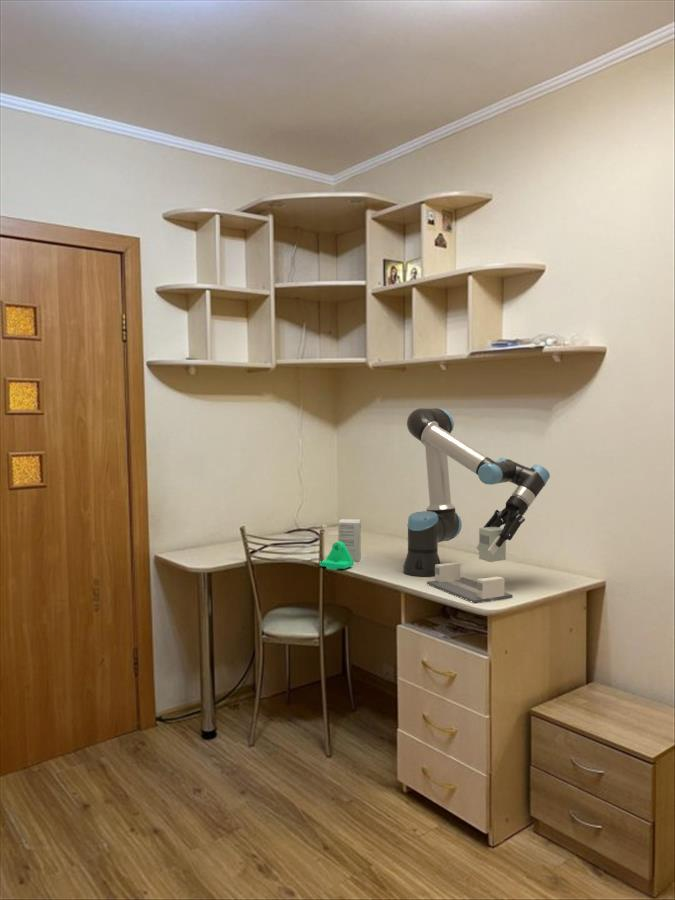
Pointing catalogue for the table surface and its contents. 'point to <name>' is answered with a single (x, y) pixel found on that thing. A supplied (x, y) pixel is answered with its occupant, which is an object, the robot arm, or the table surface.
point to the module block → (485, 542)
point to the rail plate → (468, 584)
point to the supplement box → (351, 536)
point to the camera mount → (338, 557)
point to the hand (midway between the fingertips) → (484, 550)
